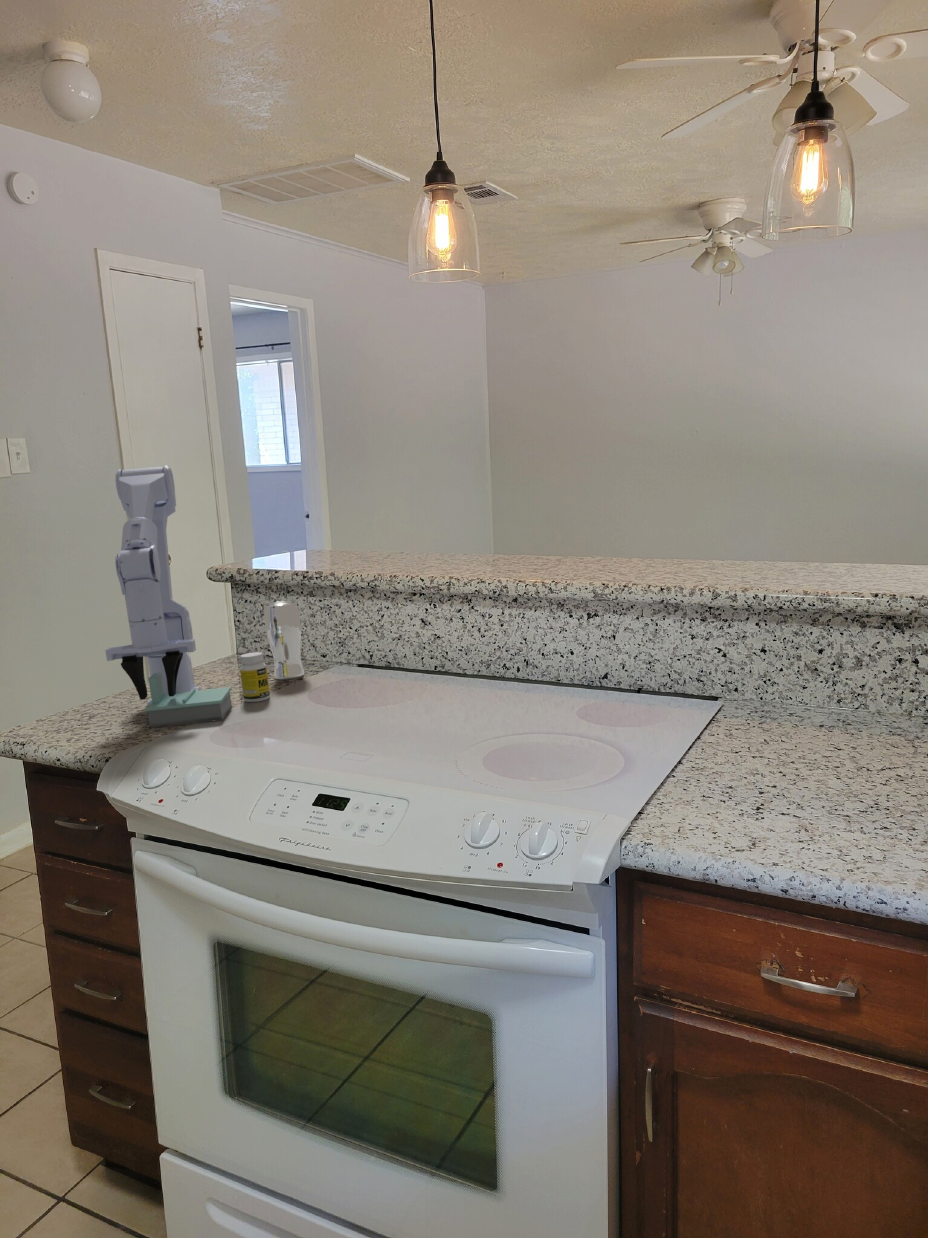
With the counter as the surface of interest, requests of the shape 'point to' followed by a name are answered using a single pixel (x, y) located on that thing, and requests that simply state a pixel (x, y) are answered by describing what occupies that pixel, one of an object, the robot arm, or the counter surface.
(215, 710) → the tub
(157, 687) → the lid
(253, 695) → the supplement bottle
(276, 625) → the beer glass
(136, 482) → the robot arm
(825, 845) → the counter surface
